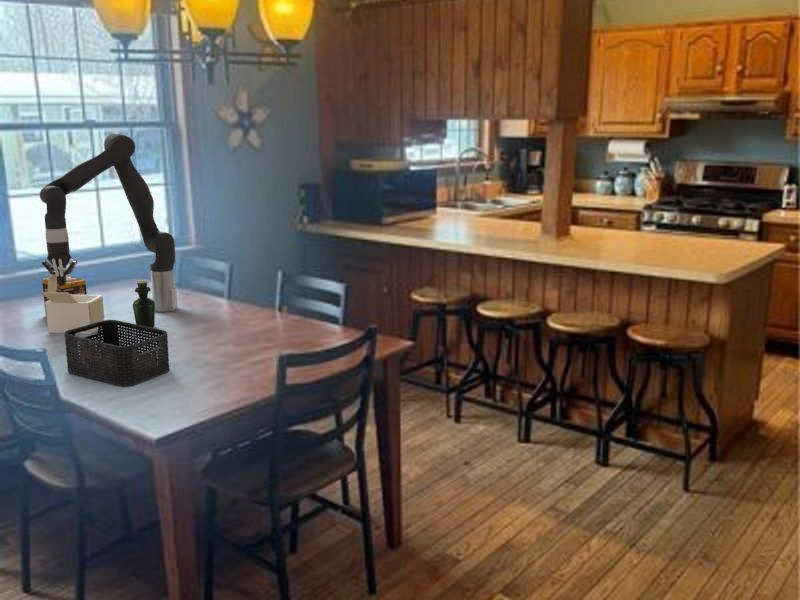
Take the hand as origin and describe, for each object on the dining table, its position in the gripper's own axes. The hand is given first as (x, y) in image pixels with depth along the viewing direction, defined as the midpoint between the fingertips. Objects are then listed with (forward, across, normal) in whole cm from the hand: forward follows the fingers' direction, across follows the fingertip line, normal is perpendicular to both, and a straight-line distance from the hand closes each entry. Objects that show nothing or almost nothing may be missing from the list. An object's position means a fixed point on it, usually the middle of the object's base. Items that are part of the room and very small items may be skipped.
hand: (62, 285), depth 269 cm
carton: (+17, +4, 0) cm, 17 cm away
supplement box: (+17, -8, +17) cm, 26 cm away
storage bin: (+18, +39, -46) cm, 62 cm away
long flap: (+2, +4, -10) cm, 11 cm away
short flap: (0, -4, 0) cm, 4 cm away
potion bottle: (+17, +29, +4) cm, 34 cm away
